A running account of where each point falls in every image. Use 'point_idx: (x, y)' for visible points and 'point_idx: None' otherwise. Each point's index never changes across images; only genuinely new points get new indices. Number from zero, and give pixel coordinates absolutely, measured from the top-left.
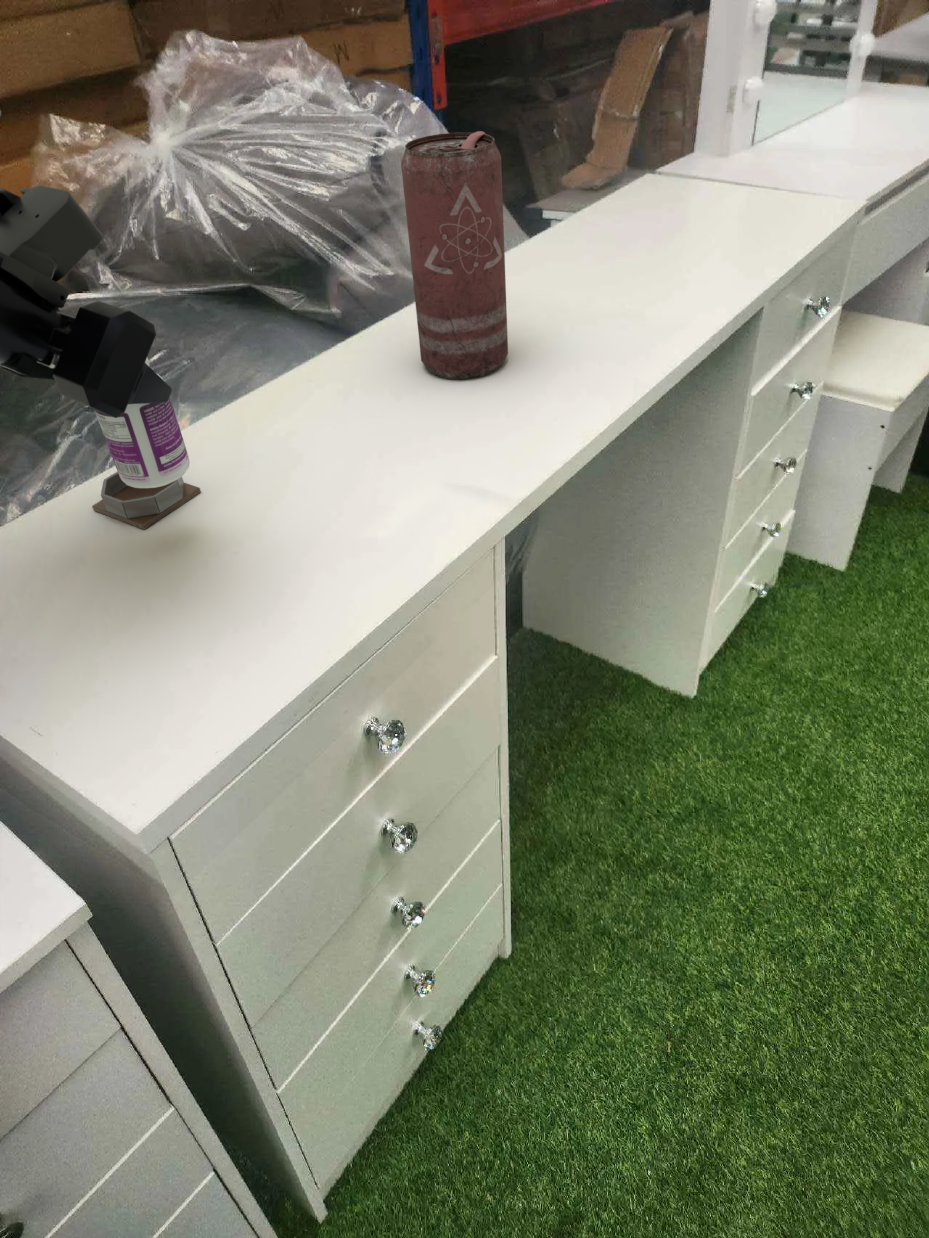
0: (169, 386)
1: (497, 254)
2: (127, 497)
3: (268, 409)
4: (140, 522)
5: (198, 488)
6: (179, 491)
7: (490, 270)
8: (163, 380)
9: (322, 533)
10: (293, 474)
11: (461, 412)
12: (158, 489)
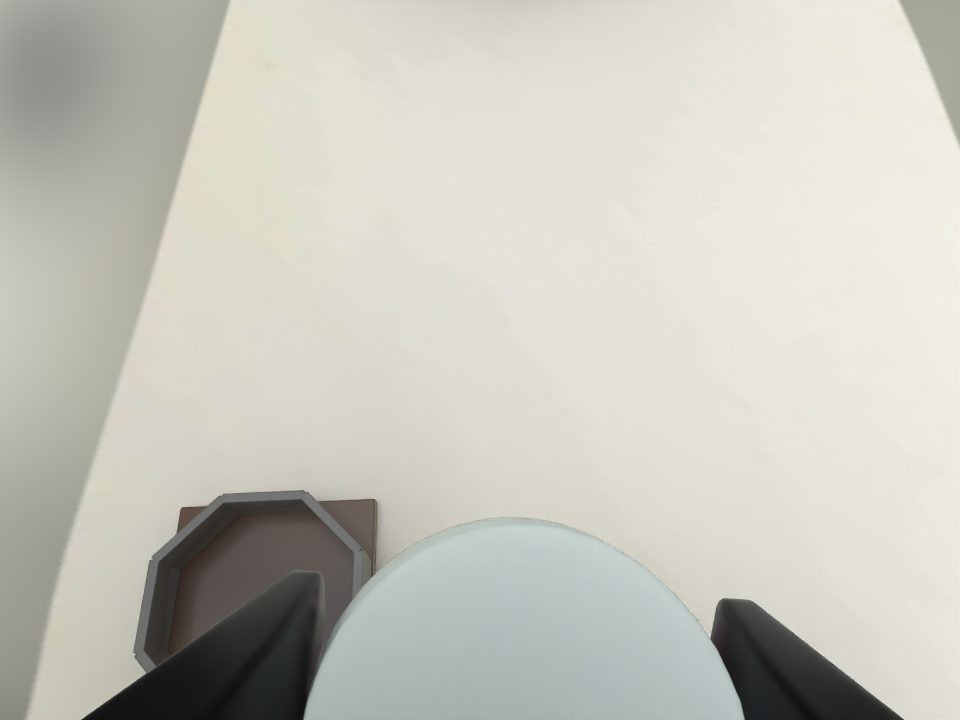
0: (767, 613)
1: None
2: None
3: (261, 176)
4: None
5: (375, 503)
6: (368, 559)
7: None
8: (815, 650)
9: (777, 485)
10: (522, 340)
11: (646, 42)
12: (275, 562)
